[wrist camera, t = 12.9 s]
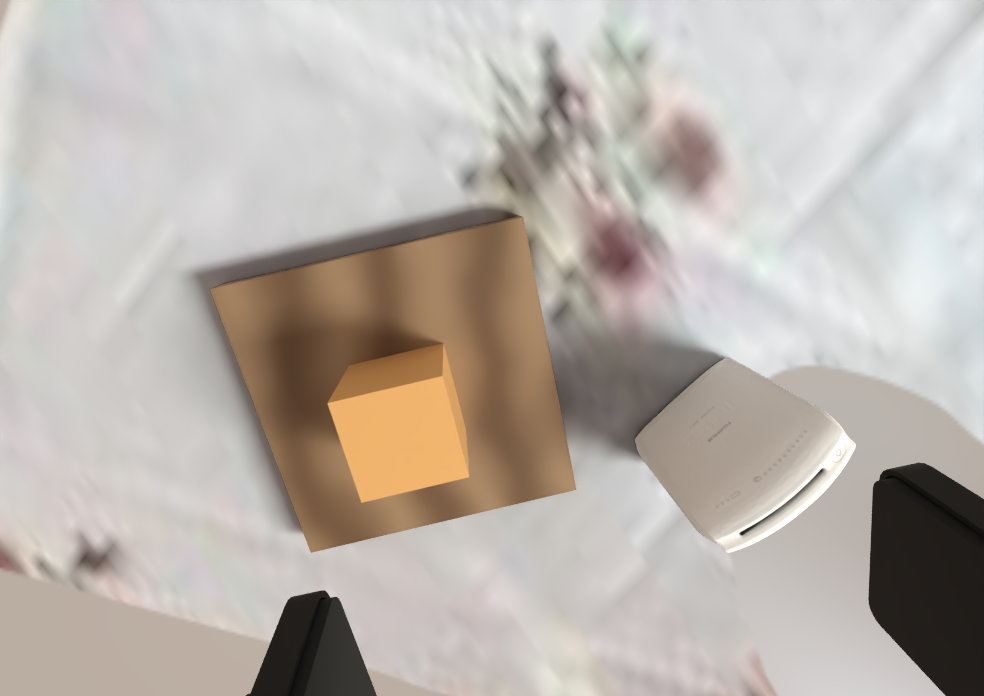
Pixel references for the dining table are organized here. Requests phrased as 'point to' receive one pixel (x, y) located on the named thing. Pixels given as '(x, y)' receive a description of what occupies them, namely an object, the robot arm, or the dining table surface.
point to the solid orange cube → (400, 423)
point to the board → (393, 330)
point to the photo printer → (742, 454)
